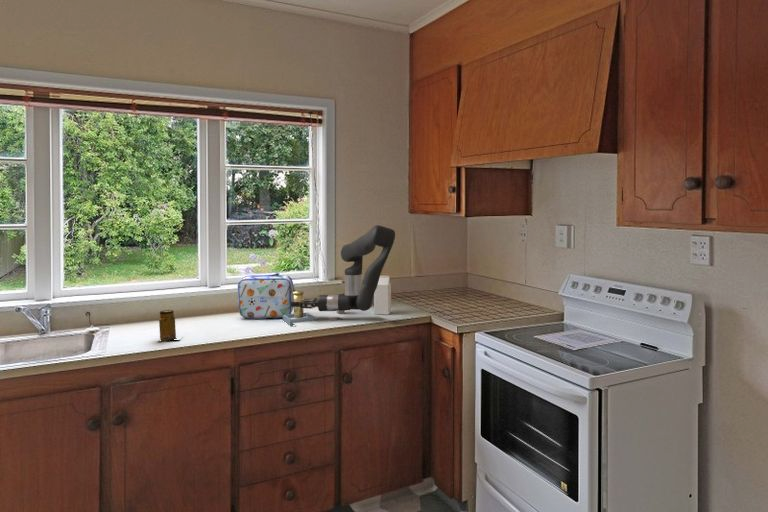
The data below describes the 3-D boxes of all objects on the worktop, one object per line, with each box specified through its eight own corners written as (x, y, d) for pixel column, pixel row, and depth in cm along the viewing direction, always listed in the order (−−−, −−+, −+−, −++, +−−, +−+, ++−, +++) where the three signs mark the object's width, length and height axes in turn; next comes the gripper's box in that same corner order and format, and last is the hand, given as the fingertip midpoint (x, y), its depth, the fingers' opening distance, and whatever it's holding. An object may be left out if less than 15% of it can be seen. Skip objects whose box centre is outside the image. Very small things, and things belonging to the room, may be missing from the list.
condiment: (161, 338, 218) (159, 309, 216) (182, 337, 219) (181, 308, 218) (157, 342, 210) (155, 313, 209) (179, 341, 212) (177, 312, 211)
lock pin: (291, 316, 245) (290, 291, 244) (302, 315, 247) (301, 290, 246) (295, 318, 240) (294, 292, 239) (306, 317, 242) (305, 291, 241)
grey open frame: (282, 321, 247) (282, 315, 246) (307, 318, 252) (307, 312, 252) (290, 326, 236) (289, 319, 236) (315, 323, 241) (315, 316, 241)
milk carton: (388, 315, 258) (388, 276, 256) (374, 314, 259) (373, 276, 257) (391, 312, 265) (390, 274, 263) (377, 311, 266) (376, 274, 264)
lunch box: (297, 314, 262) (296, 270, 260) (295, 319, 251) (294, 273, 249) (241, 316, 260) (239, 272, 258) (237, 320, 250) (235, 274, 248)
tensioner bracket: (317, 317, 253) (317, 294, 252) (344, 314, 259) (344, 292, 258) (331, 325, 237) (330, 300, 236) (359, 321, 243) (359, 297, 242)
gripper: (331, 292, 249) (295, 292, 250) (326, 297, 235) (288, 298, 236) (331, 308, 250) (296, 308, 251) (326, 314, 235) (289, 314, 236)
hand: (292, 303), depth 243 cm, fingers closed on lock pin, 4 cm apart
